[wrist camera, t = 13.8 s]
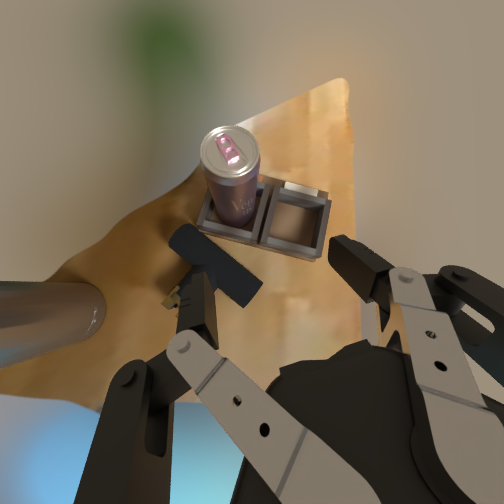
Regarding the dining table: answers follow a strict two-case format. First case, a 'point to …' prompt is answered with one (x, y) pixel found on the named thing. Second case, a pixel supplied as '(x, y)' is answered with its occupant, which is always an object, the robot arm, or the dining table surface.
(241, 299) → the pipe connector
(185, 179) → the dining table surface
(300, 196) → the socket board
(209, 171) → the beverage can
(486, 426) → the robot arm
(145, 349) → the dining table surface
